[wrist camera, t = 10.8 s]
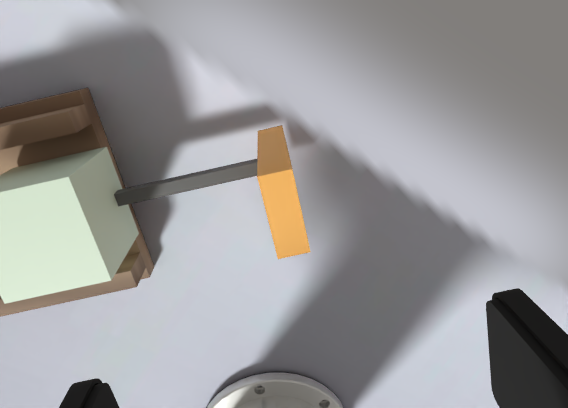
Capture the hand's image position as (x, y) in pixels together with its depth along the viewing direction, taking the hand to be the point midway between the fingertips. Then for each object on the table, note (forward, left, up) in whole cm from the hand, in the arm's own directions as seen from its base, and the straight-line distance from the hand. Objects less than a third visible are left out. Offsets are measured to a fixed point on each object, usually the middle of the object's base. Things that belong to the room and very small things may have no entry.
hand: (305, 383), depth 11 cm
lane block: (0, +8, -19) cm, 20 cm away
